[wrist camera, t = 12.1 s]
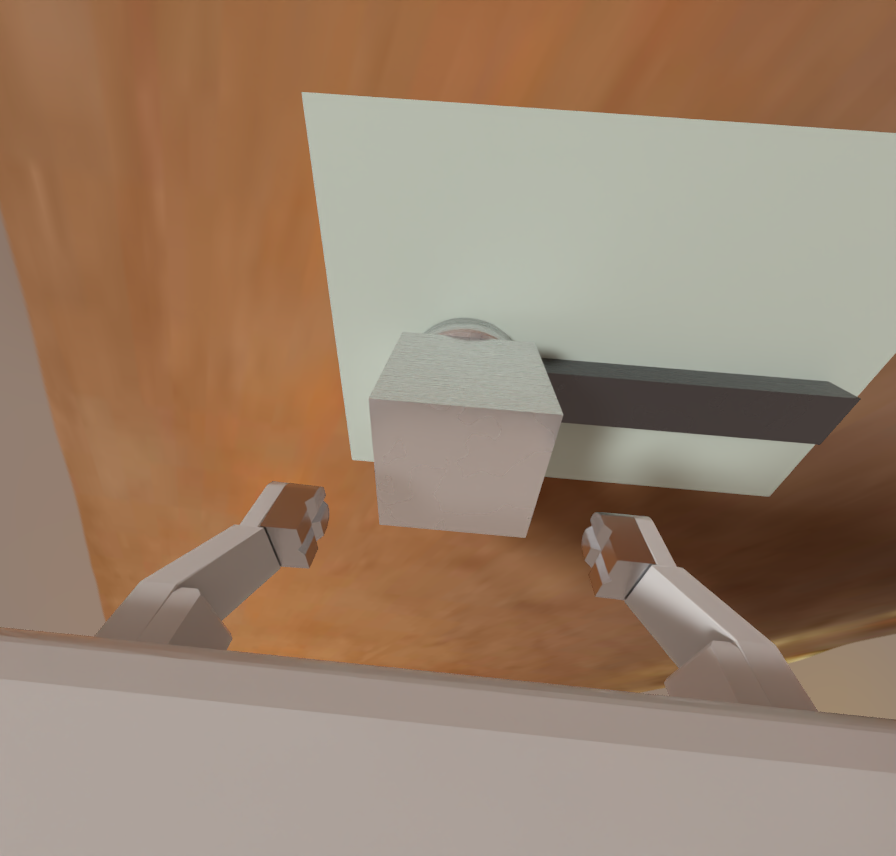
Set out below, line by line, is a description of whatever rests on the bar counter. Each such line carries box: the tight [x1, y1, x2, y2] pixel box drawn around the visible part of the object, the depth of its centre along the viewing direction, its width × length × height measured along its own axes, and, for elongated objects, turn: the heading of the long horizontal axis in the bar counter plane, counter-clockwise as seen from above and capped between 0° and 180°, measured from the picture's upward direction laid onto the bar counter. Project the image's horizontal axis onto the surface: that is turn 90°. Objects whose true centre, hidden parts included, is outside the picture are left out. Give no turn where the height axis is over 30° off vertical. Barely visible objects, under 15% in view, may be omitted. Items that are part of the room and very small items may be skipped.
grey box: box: [368, 332, 563, 538], centre depth 15 cm, size 6×6×6 cm
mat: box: [302, 92, 896, 497], centre depth 18 cm, size 18×28×1 cm, turn 87°
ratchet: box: [424, 318, 860, 445], centre depth 17 cm, size 6×22×5 cm, turn 87°
